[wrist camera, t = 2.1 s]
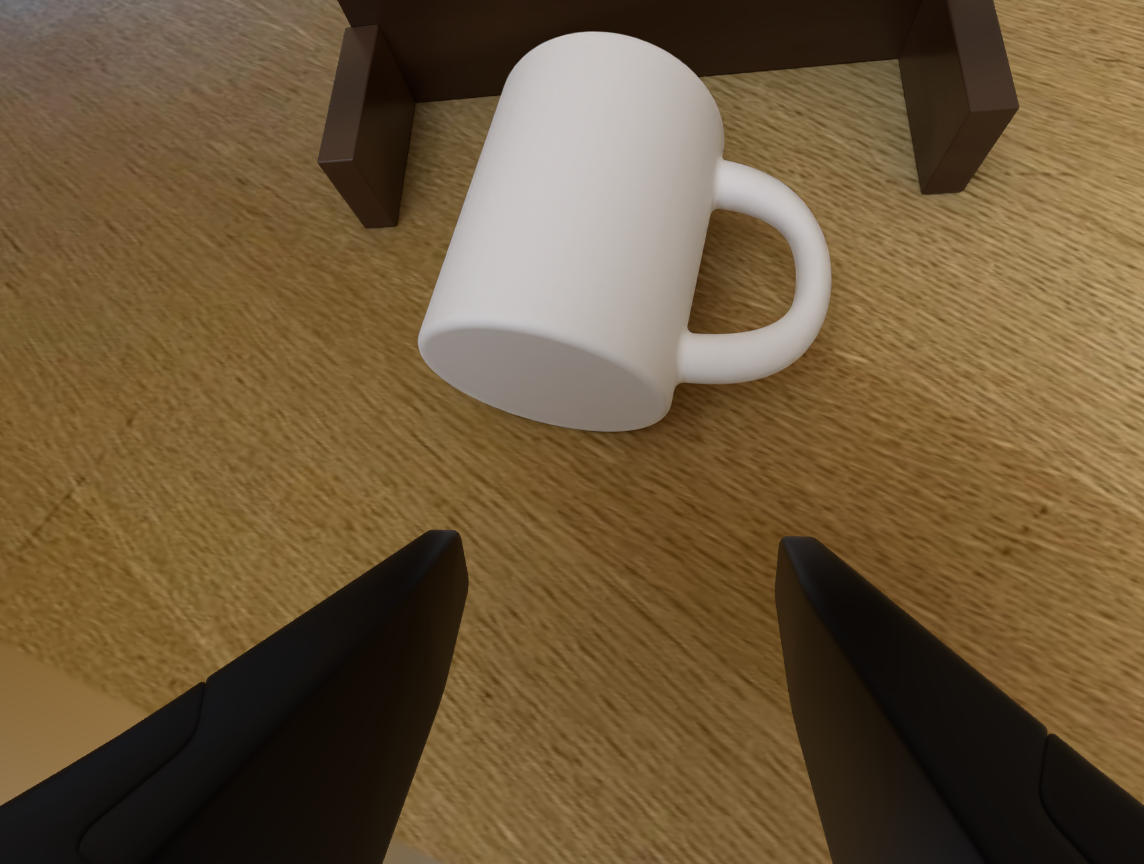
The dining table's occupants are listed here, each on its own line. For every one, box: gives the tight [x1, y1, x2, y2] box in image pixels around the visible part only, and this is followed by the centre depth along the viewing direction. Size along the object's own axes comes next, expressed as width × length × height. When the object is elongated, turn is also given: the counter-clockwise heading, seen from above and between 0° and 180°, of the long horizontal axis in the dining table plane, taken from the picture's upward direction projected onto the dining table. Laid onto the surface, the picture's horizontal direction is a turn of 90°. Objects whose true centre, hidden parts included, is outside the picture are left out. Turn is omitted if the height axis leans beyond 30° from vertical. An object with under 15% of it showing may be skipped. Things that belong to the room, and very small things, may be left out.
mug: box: [418, 32, 831, 432], centre depth 20 cm, size 12×10×8 cm
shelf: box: [318, 0, 1019, 228], centre depth 23 cm, size 9×24×7 cm, turn 88°
